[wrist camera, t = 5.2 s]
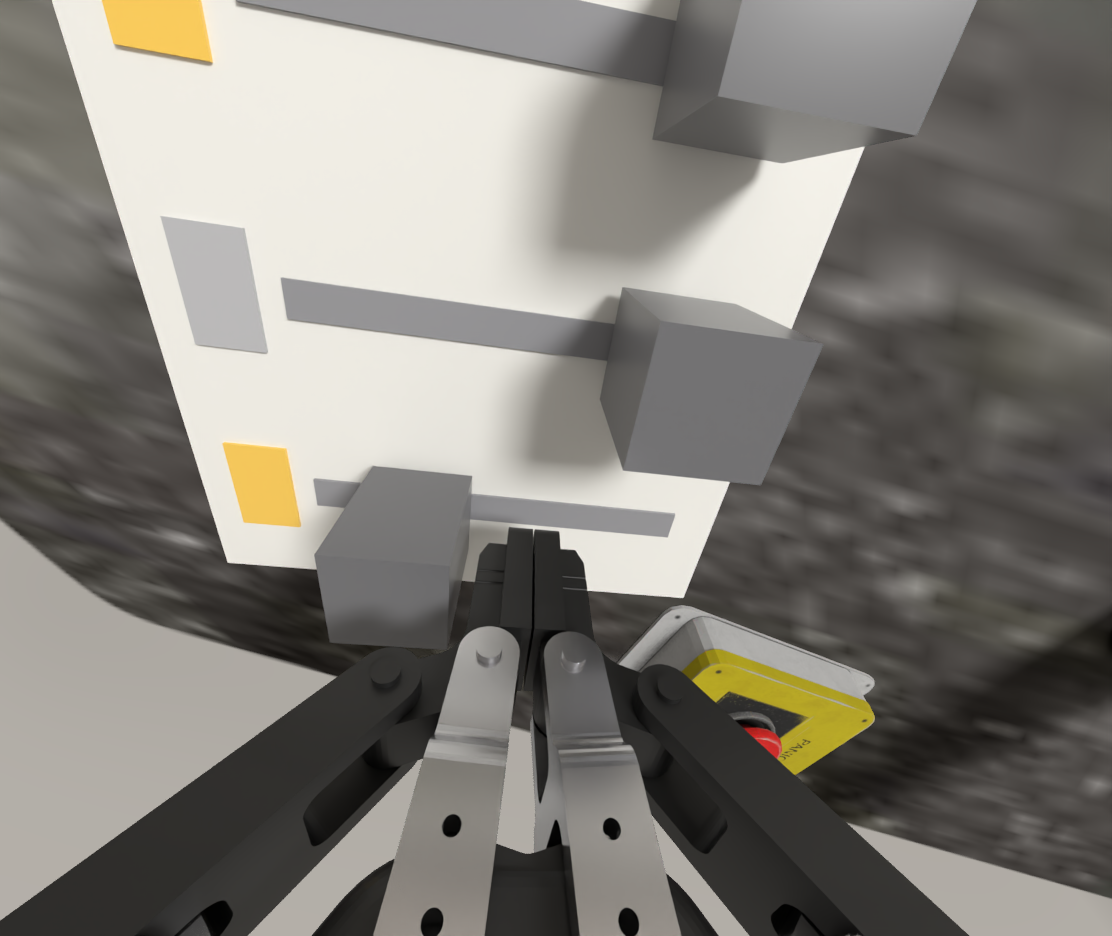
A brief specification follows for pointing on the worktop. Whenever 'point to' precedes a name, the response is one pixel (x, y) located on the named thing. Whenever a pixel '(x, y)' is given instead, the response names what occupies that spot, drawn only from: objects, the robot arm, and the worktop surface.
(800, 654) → the emergency button
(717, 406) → the switch
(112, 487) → the worktop surface
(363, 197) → the switch panel
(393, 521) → the switch
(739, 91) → the switch
